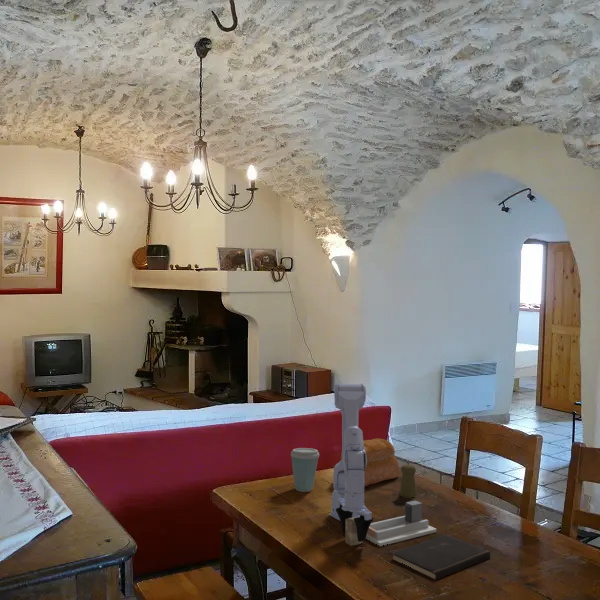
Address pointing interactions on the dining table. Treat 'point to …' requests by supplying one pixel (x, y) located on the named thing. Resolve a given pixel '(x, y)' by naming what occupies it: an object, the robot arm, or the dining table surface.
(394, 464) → the bread
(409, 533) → the rail
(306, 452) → the disposable coffee cup
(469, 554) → the hardcover book
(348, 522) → the block
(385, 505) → the dining table surface
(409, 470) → the cork
